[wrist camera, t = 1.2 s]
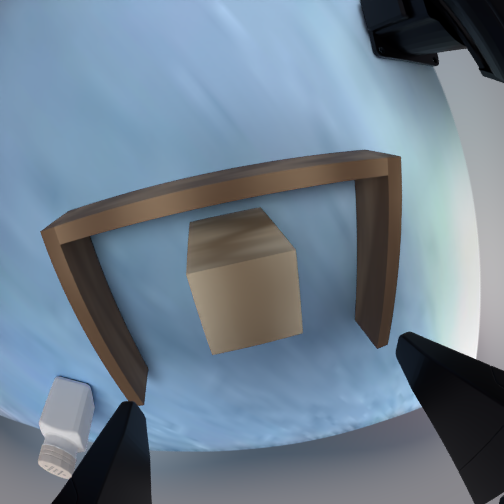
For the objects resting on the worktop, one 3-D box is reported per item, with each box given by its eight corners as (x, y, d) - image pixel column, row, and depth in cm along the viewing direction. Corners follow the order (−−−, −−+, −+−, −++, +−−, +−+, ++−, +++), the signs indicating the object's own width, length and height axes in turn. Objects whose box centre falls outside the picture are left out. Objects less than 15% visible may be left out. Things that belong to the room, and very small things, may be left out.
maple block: (260, 207, 18) (295, 249, 12) (269, 269, 20) (303, 333, 14) (189, 222, 18) (186, 274, 11) (205, 284, 19) (212, 354, 13)
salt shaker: (54, 372, 20) (26, 452, 12) (92, 382, 21) (72, 468, 13) (61, 397, 22) (41, 471, 13) (96, 406, 23) (82, 485, 14)
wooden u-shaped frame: (365, 149, 18) (400, 156, 14) (364, 316, 23) (387, 344, 20) (68, 211, 16) (40, 231, 12) (137, 370, 21) (132, 406, 18)
